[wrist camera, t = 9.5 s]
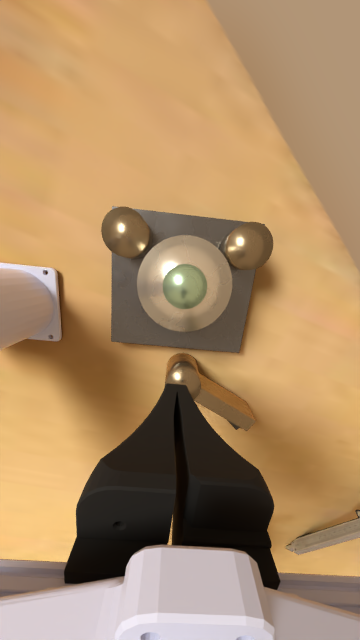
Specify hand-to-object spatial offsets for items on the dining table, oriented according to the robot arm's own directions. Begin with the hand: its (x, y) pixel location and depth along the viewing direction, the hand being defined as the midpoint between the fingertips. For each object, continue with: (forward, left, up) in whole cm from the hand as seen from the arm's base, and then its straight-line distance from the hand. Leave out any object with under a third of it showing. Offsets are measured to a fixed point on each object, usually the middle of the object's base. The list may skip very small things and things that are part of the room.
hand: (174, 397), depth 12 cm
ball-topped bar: (+4, -5, -10) cm, 12 cm away
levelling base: (+1, +1, -10) cm, 10 cm away
